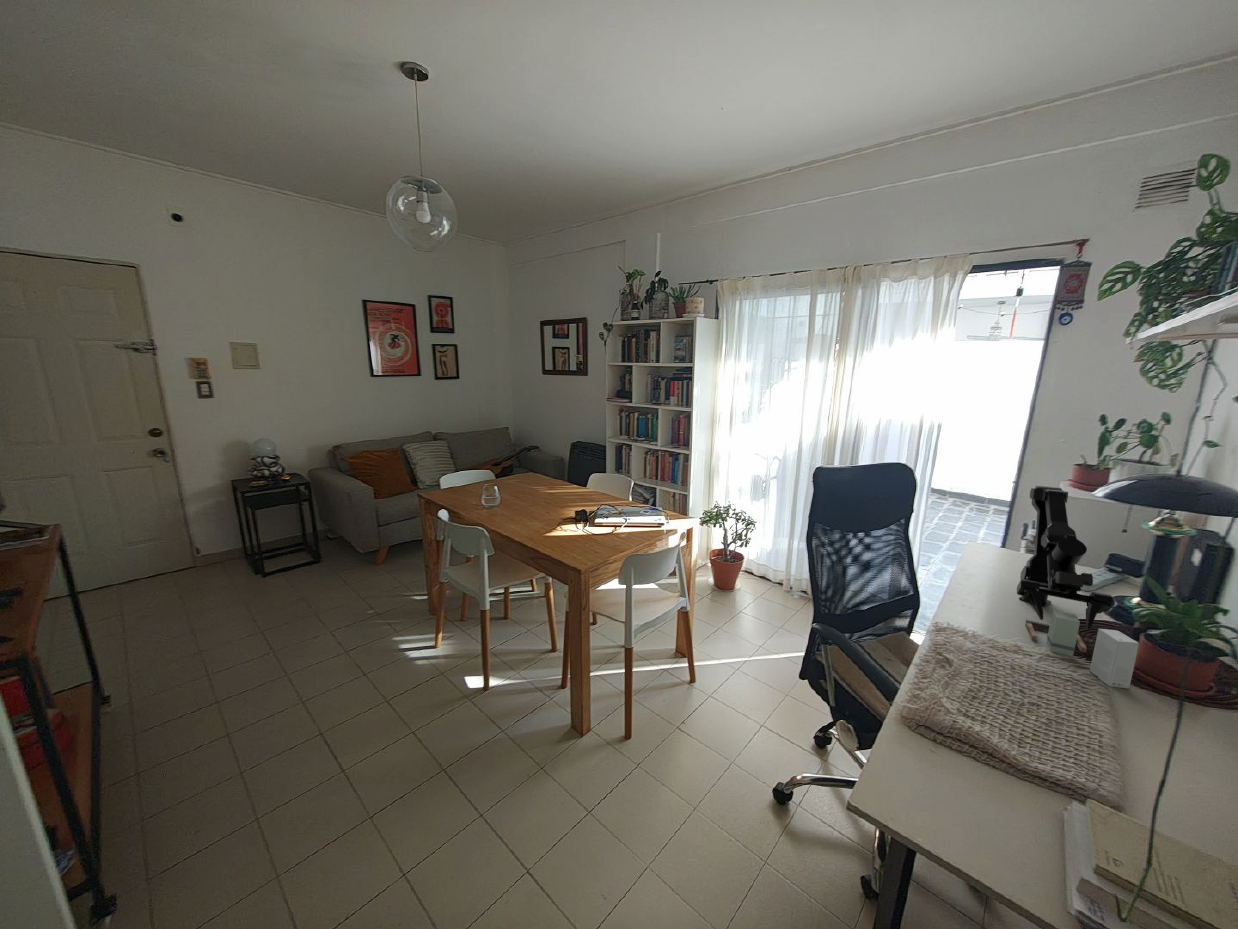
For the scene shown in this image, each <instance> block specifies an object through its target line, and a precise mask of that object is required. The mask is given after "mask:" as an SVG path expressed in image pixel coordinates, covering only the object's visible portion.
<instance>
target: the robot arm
mask: <svg viewBox="0 0 1238 929" xmlns="http://www.w3.org/2000/svg"><path fill="white" fill-rule="evenodd" d="M1068 498H1069V491H1065V490H1063V488H1062V487H1058V486H1057V487H1055V486H1046V485H1036V486H1035V487H1034V488H1033V487H1032V488H1030V491H1029V499H1031V505H1032V506H1033V507H1032V508H1034V509H1035V511H1036V522H1035V523H1036V524H1035V535H1034V537H1035V538H1034V549H1033V555H1032V556H1031V557H1029V559H1028V560H1027V561H1026V565H1024V566H1023V568H1022V570H1021V572H1020V576H1019V577H1020V578H1019V579H1020V581H1019V582H1018V584H1017V585H1016V594H1017V595H1018V596H1019V598H1018V599H1019V600H1021V601H1024V602H1027V603H1029V604H1030V605H1031V607H1032V608H1033V610H1034V612H1035V613H1036V614H1037V616H1038V618H1039V620H1040V621H1042V620H1043V619H1044V609H1043V608H1045V607H1047V606H1049V605H1050V604H1052V601H1051V600H1049V599H1048V598H1049V597H1051V596H1052V597H1055V598H1060V599H1065V600H1072V601H1076V602H1080V603H1081V602H1082V603H1086V608H1085V627H1086V630H1087V631H1090V629H1091V628H1092V626H1093V624H1094V622H1095V619H1096V617H1097V614H1103V613H1108V612H1109V611H1110V610H1111V609H1112V608H1113V607H1115V605H1116V604H1115V598H1114V597H1113V596H1112V595H1111V594H1106V593H1101V592H1095V591H1092V592H1091V593H1090V594H1089V595H1087V594H1083V593H1082V594H1080V593H1078V592H1080V591H1081V590H1082V588H1084V586H1086V587H1092V586H1094V585H1093V584H1094V577H1093V573H1089V572H1088V573H1086V572H1081V573H1080V574H1077V572H1076V565H1077V564H1078V563H1079V562H1080V561H1081V560H1082V558H1083V557H1084V556H1085V555H1086V553H1087V550H1088V547H1087V546H1086V545H1085V544H1084V543H1083V542H1082V541H1081V540H1080V539H1078V538H1077V534H1076V531H1075V530H1074V528H1072V527H1070V525H1069V521H1068V514H1067V506H1066V505H1067V504H1066V503H1068Z"/></svg>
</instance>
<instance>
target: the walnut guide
mask: <svg viewBox="0 0 1238 929" xmlns="http://www.w3.org/2000/svg"><path fill="white" fill-rule="evenodd" d="M1049 627H1050V624H1047V623H1042V622H1037V621H1033V620H1029V619H1026V620H1025V628H1026V631H1027V633H1028V635H1029V638H1030V639H1031V640H1030V641H1033V642H1037V639H1038V635H1037V633H1036V631H1035V630H1038V631H1043V632H1046V633H1048V632H1049ZM1076 644H1077V645H1076ZM1076 644H1075V645H1076V646H1077V648H1078V649H1079V651H1080V653H1083V654H1086V653H1087V650H1088V648H1087V646H1086V644H1085V642H1084V641H1083V639H1082V638H1081V636H1080V635H1079V633H1078V634H1077V639H1076Z"/></svg>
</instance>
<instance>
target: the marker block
mask: <svg viewBox="0 0 1238 929" xmlns="http://www.w3.org/2000/svg"><path fill="white" fill-rule="evenodd" d="M1051 612H1052V613H1051V618H1050V622H1049V625H1050V627H1049V632H1047V636H1046V645H1047V647H1048V650H1049V651H1050V652H1054V653H1058V654H1061V655H1062V654H1063V655H1065V656H1066V655H1067V656H1070V657H1073V656H1074V652H1075V650H1076V639H1077V634H1079V628H1080V623H1081V621H1080V620H1079V618H1078V617H1077V615H1076V614H1072V613H1069V612H1063V611H1059V610H1054V609H1053V610H1052V611H1051Z"/></svg>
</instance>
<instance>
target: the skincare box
mask: <svg viewBox="0 0 1238 929" xmlns="http://www.w3.org/2000/svg"><path fill="white" fill-rule="evenodd" d="M1095 638H1096V639H1095V644H1094V648H1093V654H1092V657H1091V663H1090V667H1089V672H1090V671H1091V672H1092V673H1093V674H1095V675H1097V676H1098V679H1099V680H1100V681H1101V682H1103V683H1105V685H1107V686H1108V687H1112V688H1119V689H1121V688H1122V689H1130V686H1131V681H1132V678H1133V672H1134V669H1135V666H1136V659H1137V655H1138V652H1139V646H1140V643H1139V641H1136V640H1134V639H1132V638H1131V637H1129V636H1128V635H1126V634H1124V633H1123V632H1121V631H1119V630H1118V629H1117V630H1115V629H1107V628H1098V629H1097V634H1096V637H1095ZM1091 672H1090V673H1091ZM1092 673H1091V674H1092ZM1093 674H1092V675H1093ZM1095 675H1094V676H1095Z"/></svg>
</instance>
